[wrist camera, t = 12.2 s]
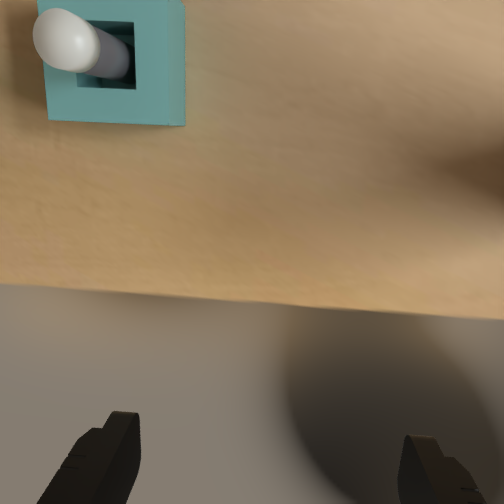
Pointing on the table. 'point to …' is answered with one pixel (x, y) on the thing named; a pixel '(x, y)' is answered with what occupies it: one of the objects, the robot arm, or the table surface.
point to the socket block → (146, 60)
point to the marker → (82, 47)
